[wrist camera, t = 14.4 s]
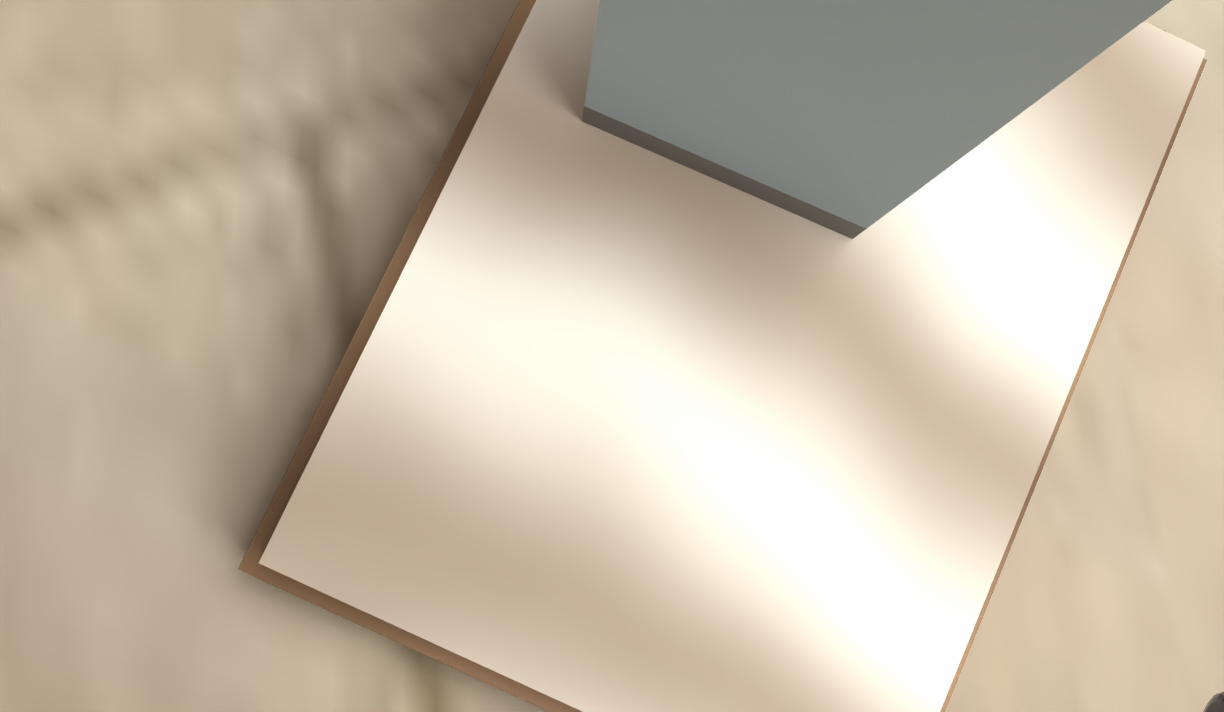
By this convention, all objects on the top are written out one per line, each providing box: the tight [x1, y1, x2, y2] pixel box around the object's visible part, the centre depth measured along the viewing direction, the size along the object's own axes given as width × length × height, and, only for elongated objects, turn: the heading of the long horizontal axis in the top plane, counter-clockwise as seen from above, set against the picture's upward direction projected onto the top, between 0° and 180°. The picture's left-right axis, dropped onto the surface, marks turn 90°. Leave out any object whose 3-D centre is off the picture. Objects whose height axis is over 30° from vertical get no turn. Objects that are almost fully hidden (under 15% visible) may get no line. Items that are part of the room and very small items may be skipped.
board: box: [238, 0, 1207, 712], centre depth 20 cm, size 16×12×2 cm
